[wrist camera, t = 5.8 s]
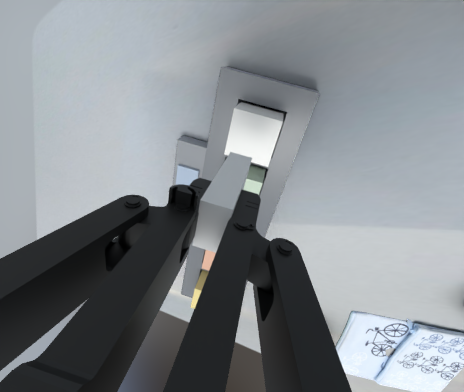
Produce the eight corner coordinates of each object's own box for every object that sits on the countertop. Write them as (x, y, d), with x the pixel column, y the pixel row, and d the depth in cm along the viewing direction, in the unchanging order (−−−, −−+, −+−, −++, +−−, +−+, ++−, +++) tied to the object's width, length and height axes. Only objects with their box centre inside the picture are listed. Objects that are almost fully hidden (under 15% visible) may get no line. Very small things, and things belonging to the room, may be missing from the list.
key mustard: (230, 277, 39) (224, 298, 35) (224, 295, 41) (218, 316, 38) (202, 268, 39) (194, 288, 36) (198, 286, 41) (190, 307, 38)
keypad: (316, 90, 26) (320, 93, 23) (238, 297, 44) (235, 312, 42) (192, 57, 27) (182, 56, 24) (166, 274, 45) (159, 287, 43)
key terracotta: (242, 238, 37) (237, 256, 34) (235, 258, 40) (230, 277, 36) (214, 229, 38) (206, 246, 34) (209, 250, 40) (201, 268, 36)
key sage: (265, 168, 29) (262, 183, 25) (255, 200, 31) (251, 218, 28) (228, 157, 29) (220, 170, 25) (220, 190, 31) (212, 206, 28)
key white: (283, 113, 25) (283, 121, 22) (270, 153, 28) (268, 167, 24) (241, 101, 26) (234, 108, 22) (232, 142, 28) (224, 154, 25)
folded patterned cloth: (428, 389, 47) (434, 402, 45) (321, 362, 50) (322, 374, 48) (486, 331, 38) (497, 345, 36) (350, 302, 40) (353, 314, 38)
